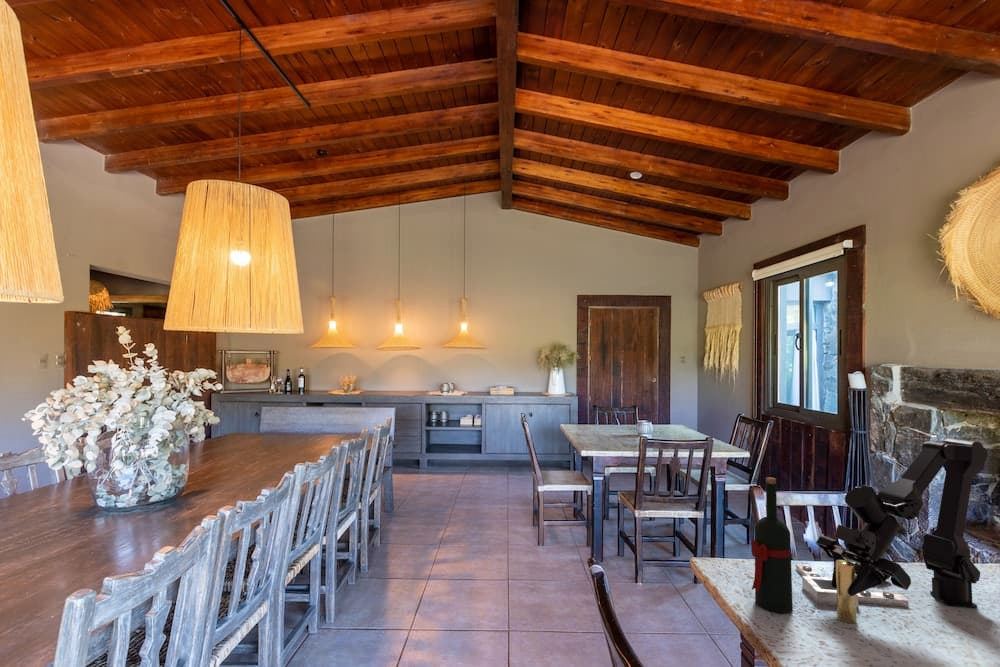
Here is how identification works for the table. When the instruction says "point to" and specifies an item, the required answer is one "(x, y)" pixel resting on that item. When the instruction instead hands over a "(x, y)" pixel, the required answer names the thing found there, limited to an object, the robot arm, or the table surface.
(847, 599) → the gold metal cylinder
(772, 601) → the wine bottle
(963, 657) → the table surface
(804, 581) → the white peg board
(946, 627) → the table surface
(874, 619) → the table surface
